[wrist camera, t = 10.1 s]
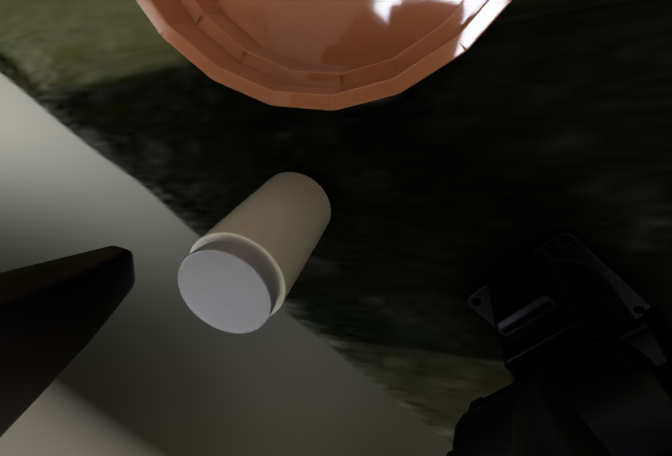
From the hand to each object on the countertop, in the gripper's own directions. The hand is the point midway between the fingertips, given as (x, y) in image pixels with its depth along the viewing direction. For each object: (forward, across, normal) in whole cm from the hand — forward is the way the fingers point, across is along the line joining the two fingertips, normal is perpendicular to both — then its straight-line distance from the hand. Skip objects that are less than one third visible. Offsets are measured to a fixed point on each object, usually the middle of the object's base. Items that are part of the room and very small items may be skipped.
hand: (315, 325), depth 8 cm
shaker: (+13, +4, +4) cm, 14 cm away
